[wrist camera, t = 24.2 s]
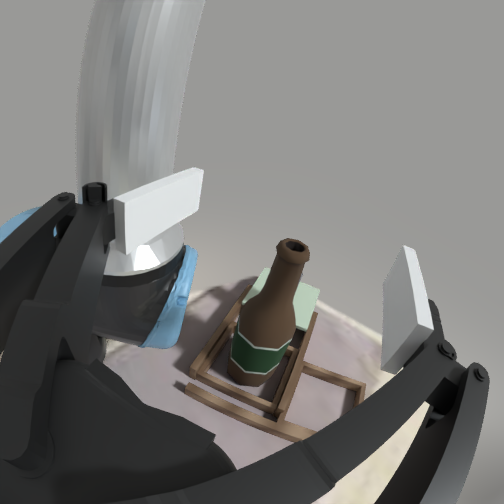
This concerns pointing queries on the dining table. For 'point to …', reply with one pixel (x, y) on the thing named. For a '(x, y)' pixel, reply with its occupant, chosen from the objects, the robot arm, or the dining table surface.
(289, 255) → the beer bottle
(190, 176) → the robot arm
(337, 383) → the brown flat frame
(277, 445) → the dining table surface
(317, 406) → the dining table surface
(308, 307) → the cover
